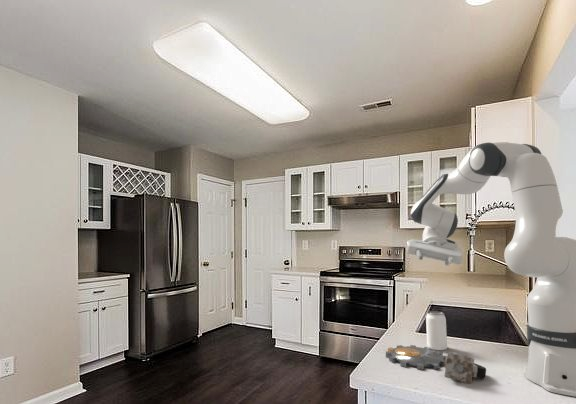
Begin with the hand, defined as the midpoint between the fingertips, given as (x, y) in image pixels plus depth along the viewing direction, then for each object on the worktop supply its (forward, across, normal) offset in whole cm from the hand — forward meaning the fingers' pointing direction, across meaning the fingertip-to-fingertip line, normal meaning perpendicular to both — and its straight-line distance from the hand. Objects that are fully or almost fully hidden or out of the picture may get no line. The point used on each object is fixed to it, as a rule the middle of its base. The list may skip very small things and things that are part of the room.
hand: (433, 260), depth 129 cm
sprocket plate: (+29, -1, +21) cm, 36 cm away
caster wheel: (+38, +10, +14) cm, 42 cm away
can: (+17, +6, +25) cm, 31 cm away
